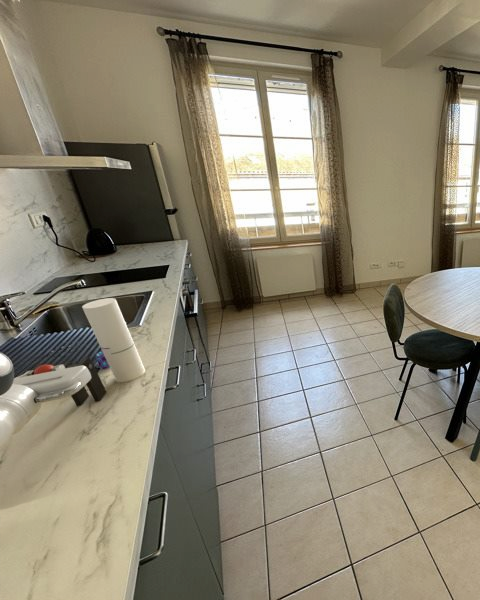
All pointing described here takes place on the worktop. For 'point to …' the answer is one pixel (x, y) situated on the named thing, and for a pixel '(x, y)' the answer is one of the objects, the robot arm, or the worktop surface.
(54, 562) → the worktop surface
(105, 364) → the pudding
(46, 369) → the lever
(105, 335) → the cylindrical container
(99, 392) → the toaster bracket
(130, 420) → the worktop surface
